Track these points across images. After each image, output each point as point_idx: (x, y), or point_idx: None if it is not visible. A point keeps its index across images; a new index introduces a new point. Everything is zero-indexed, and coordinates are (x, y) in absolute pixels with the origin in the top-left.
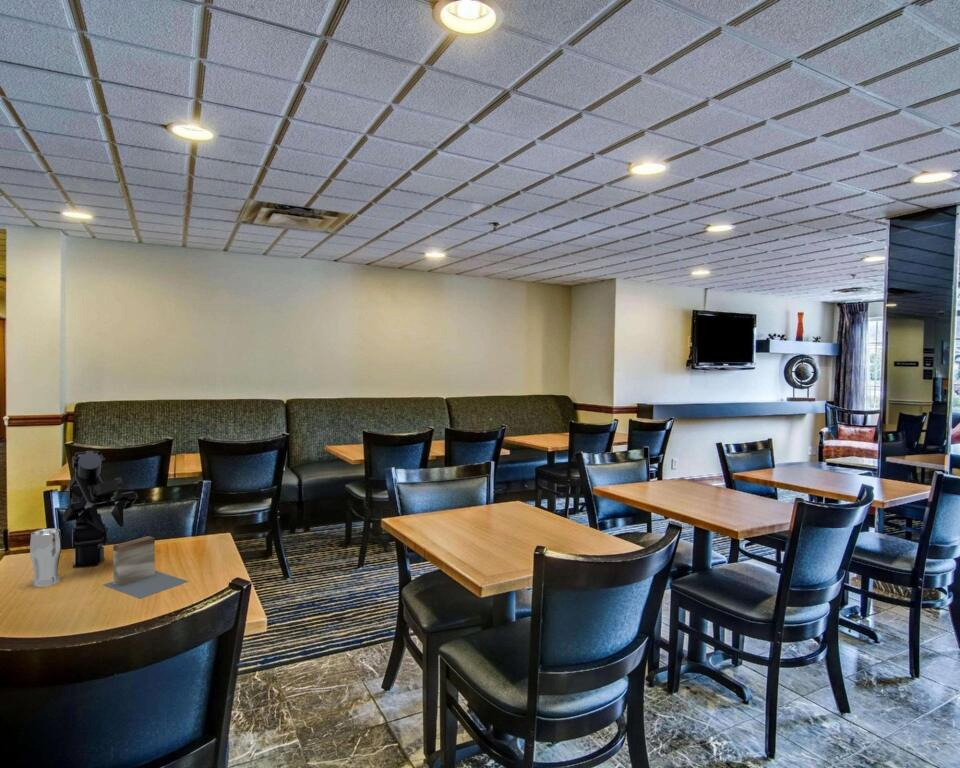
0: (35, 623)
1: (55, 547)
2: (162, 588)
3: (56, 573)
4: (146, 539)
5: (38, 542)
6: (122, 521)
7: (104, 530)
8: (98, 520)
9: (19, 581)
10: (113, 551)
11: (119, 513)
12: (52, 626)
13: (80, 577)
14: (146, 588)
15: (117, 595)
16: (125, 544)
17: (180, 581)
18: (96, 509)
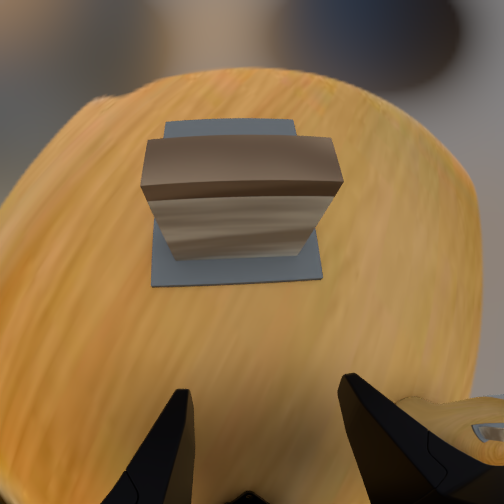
0: (453, 191)
1: (486, 402)
2: (229, 128)
3: (410, 415)
4: (186, 143)
5: None
6: (170, 414)
7: (342, 380)
8: (416, 429)
9: None
10: (333, 197)
11: (160, 493)
12: (432, 158)
13: (328, 423)
14: None
15: None
16: (295, 150)
17: (175, 134)
18: (487, 500)
